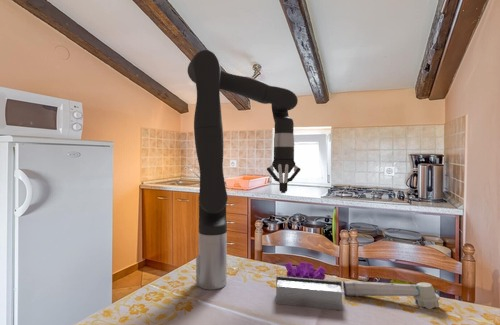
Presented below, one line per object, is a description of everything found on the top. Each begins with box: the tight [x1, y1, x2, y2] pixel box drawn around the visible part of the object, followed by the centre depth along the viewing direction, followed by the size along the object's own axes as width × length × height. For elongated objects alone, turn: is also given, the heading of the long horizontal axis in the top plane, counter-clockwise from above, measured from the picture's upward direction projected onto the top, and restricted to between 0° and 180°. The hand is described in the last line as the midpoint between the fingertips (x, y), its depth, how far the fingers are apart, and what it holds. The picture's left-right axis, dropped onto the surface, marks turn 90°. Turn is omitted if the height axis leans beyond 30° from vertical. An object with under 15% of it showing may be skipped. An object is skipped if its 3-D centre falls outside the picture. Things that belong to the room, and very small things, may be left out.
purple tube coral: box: [284, 261, 327, 280], centre depth 93 cm, size 11×15×10 cm
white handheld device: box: [342, 279, 440, 310], centre depth 83 cm, size 5×7×25 cm
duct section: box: [275, 275, 343, 311], centre depth 82 cm, size 19×6×6 cm, turn 79°
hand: (283, 192), depth 104 cm, fingers closed
